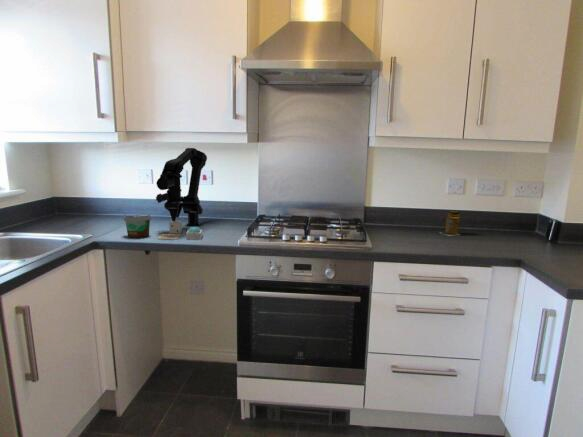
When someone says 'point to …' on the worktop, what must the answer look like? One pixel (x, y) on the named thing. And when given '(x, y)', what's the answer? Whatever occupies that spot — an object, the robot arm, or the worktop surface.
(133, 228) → the food container
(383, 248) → the worktop surface
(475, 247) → the worktop surface
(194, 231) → the dome button
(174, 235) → the birch tile
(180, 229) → the die
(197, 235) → the dome base
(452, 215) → the condiment
